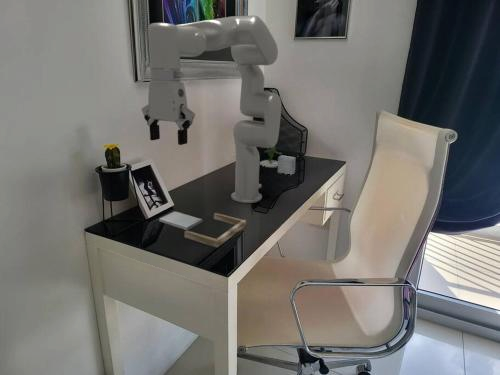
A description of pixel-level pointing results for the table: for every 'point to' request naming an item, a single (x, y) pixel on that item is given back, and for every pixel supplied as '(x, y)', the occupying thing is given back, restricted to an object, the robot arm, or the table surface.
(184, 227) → the hard drive
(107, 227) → the table surface
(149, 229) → the table surface
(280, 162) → the medicine box
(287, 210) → the table surface
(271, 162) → the potted plant
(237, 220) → the wooden frame
